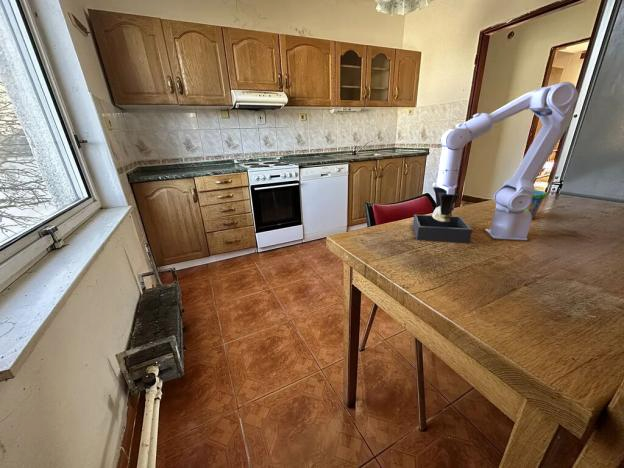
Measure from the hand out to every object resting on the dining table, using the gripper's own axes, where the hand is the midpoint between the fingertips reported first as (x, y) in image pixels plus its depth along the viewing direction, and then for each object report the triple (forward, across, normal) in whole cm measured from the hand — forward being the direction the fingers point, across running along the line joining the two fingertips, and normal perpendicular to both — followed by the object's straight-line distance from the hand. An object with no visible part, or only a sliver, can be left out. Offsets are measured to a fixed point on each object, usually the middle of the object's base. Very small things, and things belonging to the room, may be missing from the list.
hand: (442, 211), depth 86 cm
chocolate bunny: (+3, 0, 0) cm, 3 cm away
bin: (+8, 0, 0) cm, 8 cm away
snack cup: (+8, -25, +35) cm, 44 cm away
